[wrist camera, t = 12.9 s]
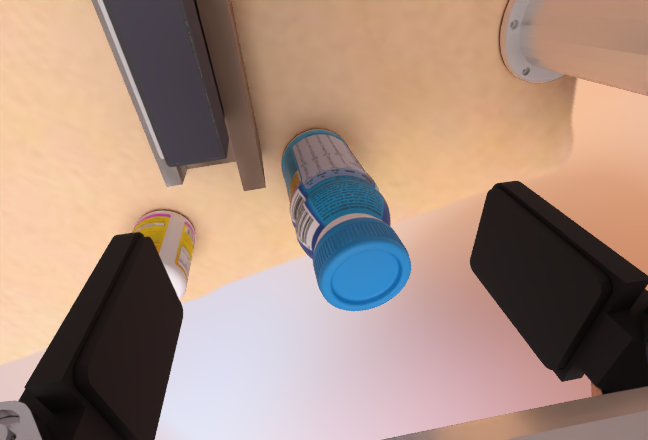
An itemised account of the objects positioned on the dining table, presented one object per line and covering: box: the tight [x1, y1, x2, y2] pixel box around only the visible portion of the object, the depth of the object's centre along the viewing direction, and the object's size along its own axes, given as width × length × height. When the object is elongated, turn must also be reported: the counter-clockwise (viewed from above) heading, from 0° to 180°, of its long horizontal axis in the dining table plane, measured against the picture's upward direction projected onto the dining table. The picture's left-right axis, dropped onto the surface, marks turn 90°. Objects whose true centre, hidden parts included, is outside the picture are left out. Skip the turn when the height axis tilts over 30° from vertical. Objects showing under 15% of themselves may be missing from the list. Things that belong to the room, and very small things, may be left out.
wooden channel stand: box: [92, 0, 266, 191], centre depth 27 cm, size 10×24×8 cm, turn 5°
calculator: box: [98, 0, 229, 167], centre depth 23 cm, size 11×4×15 cm, turn 5°
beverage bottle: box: [282, 129, 411, 311], centre depth 31 cm, size 8×8×20 cm
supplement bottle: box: [133, 211, 195, 300], centre depth 35 cm, size 7×7×13 cm
